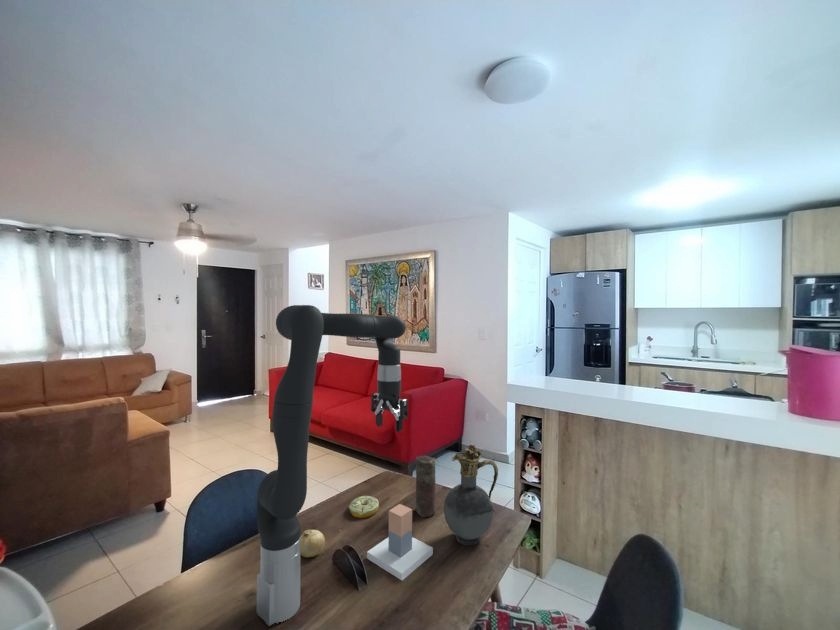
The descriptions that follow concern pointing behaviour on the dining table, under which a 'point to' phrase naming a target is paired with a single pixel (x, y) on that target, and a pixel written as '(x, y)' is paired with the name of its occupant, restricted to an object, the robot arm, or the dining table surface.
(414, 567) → the white flat square slab
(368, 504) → the decorated donut
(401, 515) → the peach block
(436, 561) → the dining table surface
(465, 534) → the pitcher
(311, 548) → the onion
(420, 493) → the brown cylinder
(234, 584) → the dining table surface
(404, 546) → the slate block
